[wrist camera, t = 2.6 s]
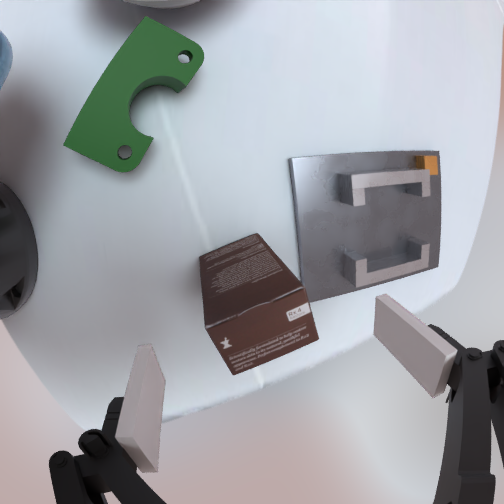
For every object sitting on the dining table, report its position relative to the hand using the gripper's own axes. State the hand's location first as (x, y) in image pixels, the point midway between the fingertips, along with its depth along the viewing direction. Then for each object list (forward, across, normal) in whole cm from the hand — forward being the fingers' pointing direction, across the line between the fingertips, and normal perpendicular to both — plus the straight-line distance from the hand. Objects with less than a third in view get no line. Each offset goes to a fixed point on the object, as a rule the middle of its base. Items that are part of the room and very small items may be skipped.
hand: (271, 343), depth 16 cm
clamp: (+13, -7, +16) cm, 22 cm away
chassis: (+13, +15, +2) cm, 19 cm away
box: (+13, 0, 0) cm, 13 cm away
